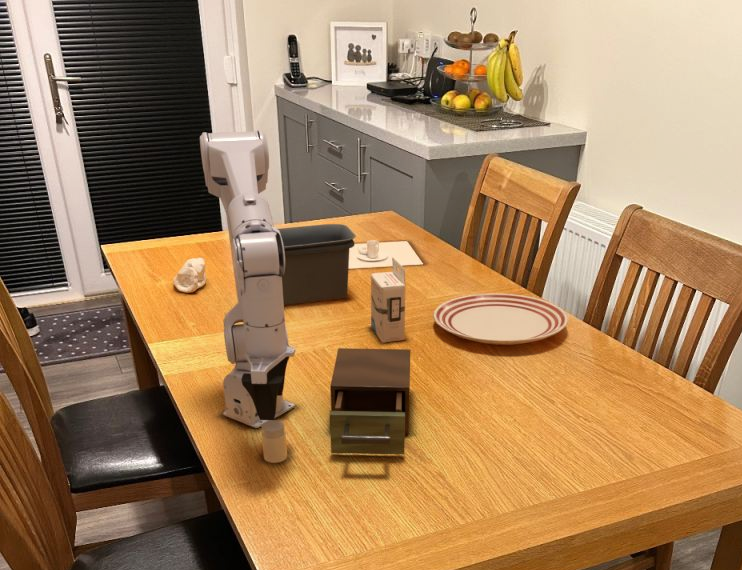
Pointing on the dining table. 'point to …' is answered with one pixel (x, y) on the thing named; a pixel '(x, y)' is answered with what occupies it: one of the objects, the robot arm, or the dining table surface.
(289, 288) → the storage bin
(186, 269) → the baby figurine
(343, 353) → the cabinet
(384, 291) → the ink box
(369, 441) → the drawer
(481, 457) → the dining table surface
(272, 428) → the salt shaker
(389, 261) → the teacup and saucer
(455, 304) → the dinner plate
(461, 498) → the dining table surface
